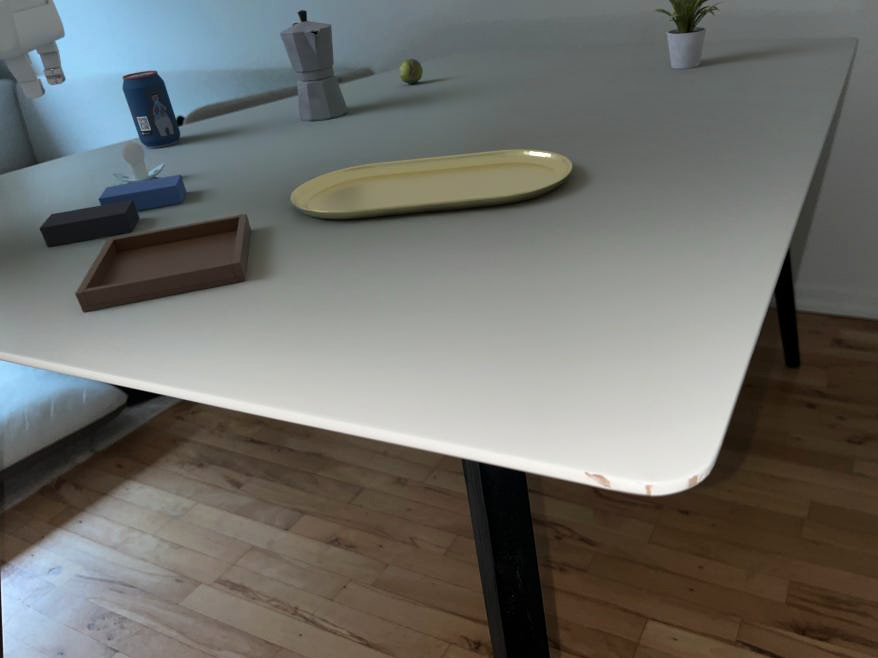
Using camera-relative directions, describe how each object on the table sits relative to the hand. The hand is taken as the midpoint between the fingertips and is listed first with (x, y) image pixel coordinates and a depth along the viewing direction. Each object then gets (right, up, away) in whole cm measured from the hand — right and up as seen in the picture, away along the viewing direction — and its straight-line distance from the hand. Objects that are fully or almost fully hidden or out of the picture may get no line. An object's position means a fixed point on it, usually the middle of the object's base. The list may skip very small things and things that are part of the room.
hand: (47, 90), depth 87 cm
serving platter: (+45, -11, +5) cm, 46 cm away
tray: (+18, -22, -8) cm, 29 cm away
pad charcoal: (+2, -16, +6) cm, 17 cm away
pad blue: (+5, -10, +14) cm, 18 cm away
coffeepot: (+21, +15, +53) cm, 59 cm away
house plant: (+90, +23, +52) cm, 106 cm away
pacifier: (+1, -6, +23) cm, 24 cm away
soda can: (-6, +7, +46) cm, 47 cm away
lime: (+37, +26, +69) cm, 83 cm away
